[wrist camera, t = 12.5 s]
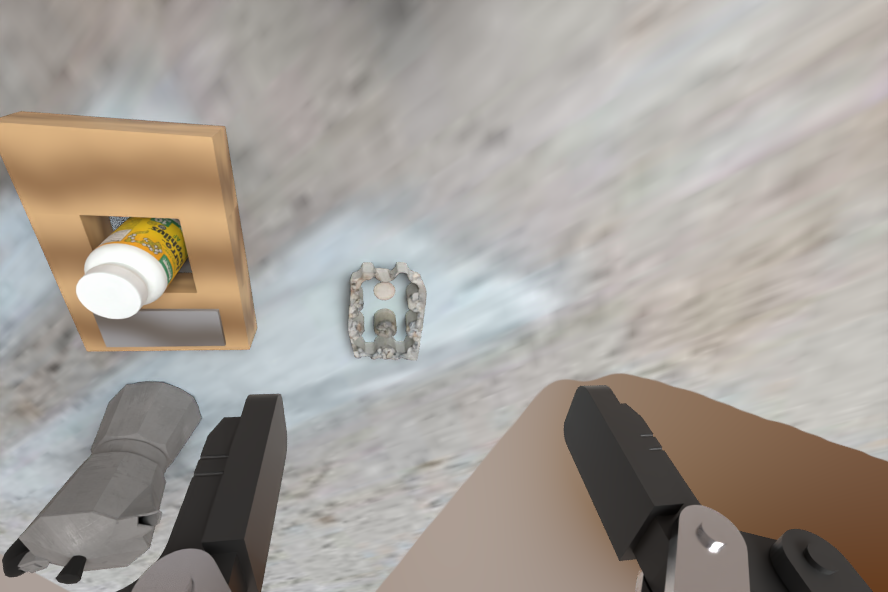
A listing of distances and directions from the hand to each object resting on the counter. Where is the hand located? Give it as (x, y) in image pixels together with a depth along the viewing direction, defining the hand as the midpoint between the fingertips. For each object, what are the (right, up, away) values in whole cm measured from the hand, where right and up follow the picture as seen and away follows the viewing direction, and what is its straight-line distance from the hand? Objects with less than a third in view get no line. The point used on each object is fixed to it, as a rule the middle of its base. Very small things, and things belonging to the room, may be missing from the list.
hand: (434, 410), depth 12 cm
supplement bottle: (-25, +8, +27) cm, 38 cm away
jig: (-25, +8, +27) cm, 37 cm away
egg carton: (-6, +2, +34) cm, 35 cm away
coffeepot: (-33, -10, +38) cm, 51 cm away
